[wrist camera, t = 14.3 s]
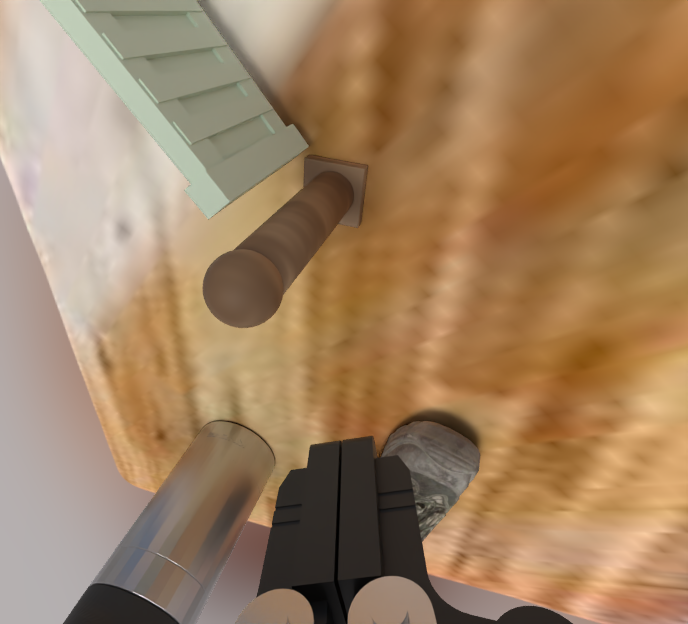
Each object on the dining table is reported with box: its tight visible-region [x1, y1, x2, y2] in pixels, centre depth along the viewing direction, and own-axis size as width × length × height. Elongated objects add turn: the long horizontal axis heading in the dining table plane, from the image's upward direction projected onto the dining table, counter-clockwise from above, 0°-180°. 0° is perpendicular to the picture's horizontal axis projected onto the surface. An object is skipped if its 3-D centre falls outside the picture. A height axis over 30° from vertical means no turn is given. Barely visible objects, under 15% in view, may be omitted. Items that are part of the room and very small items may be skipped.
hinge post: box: [203, 155, 368, 328], centre depth 24 cm, size 4×4×15 cm
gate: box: [40, 0, 309, 219], centre depth 22 cm, size 15×2×10 cm, turn 38°
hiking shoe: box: [381, 421, 480, 541], centre depth 41 cm, size 9×21×12 cm, turn 156°
